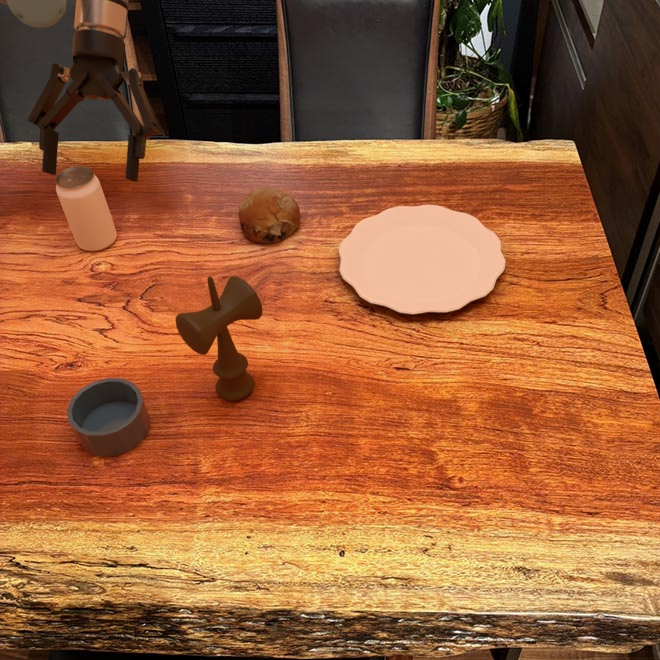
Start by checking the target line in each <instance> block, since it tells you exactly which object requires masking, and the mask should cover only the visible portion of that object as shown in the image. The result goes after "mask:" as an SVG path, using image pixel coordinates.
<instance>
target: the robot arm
mask: <svg viewBox="0 0 660 660" xmlns="http://www.w3.org/2000/svg"><path fill="white" fill-rule="evenodd" d="M67 1H68V0H0V4H3V5H5V6H7V7H8V8H9V10H10V12H11V13H12V14H13V15H14V16H15V18H17V19H18V20H19V21H20V22H22V24H25V25H27V26H29V27H32V28H39V29H40V28H49V27H51V26H54V25H55V24H57V23H59V21H61V19H62V18H63V17H64V15H65V13H66V9H67ZM128 12H129V0H75V13H74V24H73V28H74V29H75V32H74V33H73V40H72V64H71V66H70V67H68V66H67V67H66V66H62V65H60V64H58V63H57V62H56V63H53V64H52V65H51V70H50V74H49V75H50V76H49V78H48V80H47V82H46V84H45V85H44V88H43V90H42V92H41V93H40V95H39V97H38V99H37V101H36V103H35V105H34V106H33V108H32V109H31V111H30V114H29V115H28V117H27V120H28V122H29V123H30V124H33V125H34V126H36V127H38V128H39V141H38V148H39V150H40V151H42V164H41V165H42V167H41V172H43V173H46V174H49V175H53V176H57V163H58V150H59V135H60V134H59V132H57V131H56V128H57V127H58V126H59V125H60V124H61V123H62V121H64V119H66V118H67V116H68V115H69V114H70V113H71V112H72V111H73V109H74V108H75V107H76V106H77V105H79V103H80V102H83V101H84V100H85V99H86V98H87V99H88V100H97V99H98V100H102V101H109V99H110V100H111V101H112V102H113V104H114V105H115V107H116V108H117V110H118V111H119V113H120V114H121V115H122V118H123V119H124V120H125V122H126V123H127V124H128V126H129V127H130V129H131V130H132V134H128V136H127V137H128V139H127V150H126V151H127V152H126V167H125V176H124V177H125V179H127V180H129V181H132V182H138V181H139V170H140V160H144V159H145V157H146V148H147V140H148V138H149V137H151V136H158V135H159V134H160V128H159V125H158V123H157V120H156V118H155V115H154V113H153V112H154V111H153V109H152V107H151V104H150V102H149V99H148V96H147V93H146V91H145V89H144V88H145V87H144V75H143V74H142V72H140V71H138V70H137V69H136V68H133V67H131V68H130V69H129V70H125V71H124V65H125V59H126V58H125V56H126V43H125V41H124V40H125V39H126V38H127V28H128V27H127V26H128ZM70 79H71V80H72V82H71V83H70V84H69V85H68V86H67V87H66V88H65V86H66V82H69V81H70ZM124 83H126V84H127V85H128V86H129V89H130V91H131V94H132V96H133V99H134V102H135V104H136V107H137V110H138V113H139V115H140V118H141V120H142V123H143V124H142V123H141V121H140V119H139V118H138V117H137V115H136V113H135V112H134V111H133V108H132V107H131V106H130V105H129V103H128V102H127V100H126V98H125V96H124V94H123V93H122V91H121V90H120V88H121V87H122V85H123V84H124ZM64 88H65V92H64V93H63V95H61V93H62V92H63V90H64ZM60 95H61V97H60ZM59 97H60V98H59Z"/></svg>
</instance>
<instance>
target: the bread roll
mask: <svg viewBox="0 0 660 660" xmlns="http://www.w3.org/2000/svg"><path fill="white" fill-rule="evenodd" d="M238 206H239V207H238V220H239V227H240V230H241V232H242V234H243V235H244V236H245V237H246V238H248V240H250V241H251V242H255V243H262V244H271V243H274V244H276V243H277V242H281V241H284V239H287V238H288V237H289V236H291V235H292V234H293V233H294V232H295V231H296V230H297V229H298V227H299V226H300V225H301V213H300V206H299V204H298V202H297V201H296V200H295V198H294V197H293V196H291V195H290V194H289V193H287V191H284V190H283V189H279V188H276V187H270V186H267V187H266V186H265V187H264V186H263V187H258V188H254V189H252V190H251V191H250V192H249V193H248V194H247V195H246V196H245V198H244V199H243V200H242V201H241V202H240V204H239V205H238Z"/></svg>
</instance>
